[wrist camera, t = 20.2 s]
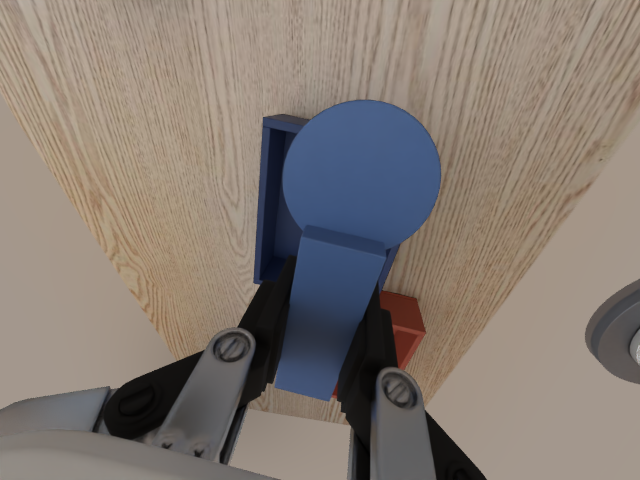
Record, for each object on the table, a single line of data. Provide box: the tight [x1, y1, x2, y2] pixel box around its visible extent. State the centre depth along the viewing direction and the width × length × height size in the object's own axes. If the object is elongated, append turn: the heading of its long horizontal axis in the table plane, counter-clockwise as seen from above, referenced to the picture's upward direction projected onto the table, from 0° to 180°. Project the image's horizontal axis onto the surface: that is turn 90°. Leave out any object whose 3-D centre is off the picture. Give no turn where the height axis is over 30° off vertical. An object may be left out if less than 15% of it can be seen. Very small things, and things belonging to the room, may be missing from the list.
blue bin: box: [253, 114, 400, 295], centre depth 23 cm, size 15×12×5 cm
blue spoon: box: [275, 100, 441, 402], centre depth 9 cm, size 11×4×3 cm, turn 169°
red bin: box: [331, 290, 426, 398], centre depth 31 cm, size 15×12×5 cm
